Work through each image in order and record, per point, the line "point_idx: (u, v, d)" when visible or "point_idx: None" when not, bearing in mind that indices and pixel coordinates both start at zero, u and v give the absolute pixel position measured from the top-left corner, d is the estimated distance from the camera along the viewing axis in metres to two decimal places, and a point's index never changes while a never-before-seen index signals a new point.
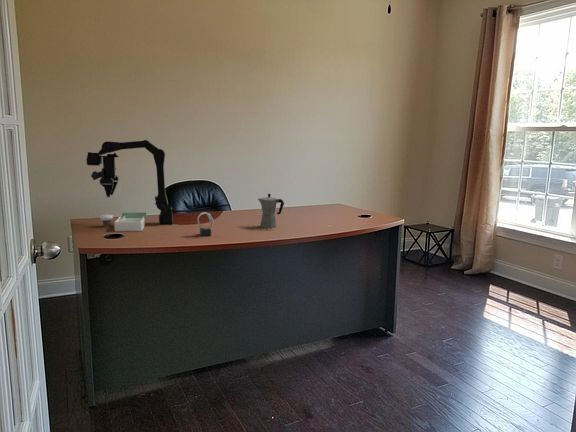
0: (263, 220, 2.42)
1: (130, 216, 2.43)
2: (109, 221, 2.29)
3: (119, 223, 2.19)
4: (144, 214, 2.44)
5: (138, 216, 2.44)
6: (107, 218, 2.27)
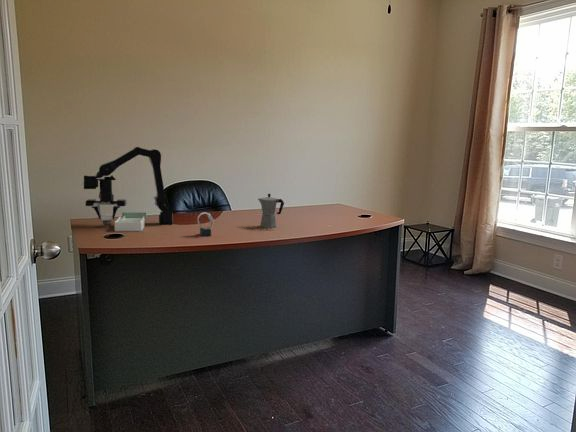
0: (263, 220, 2.42)
1: (130, 216, 2.43)
2: (109, 221, 2.29)
3: (119, 223, 2.19)
4: (144, 214, 2.44)
5: (138, 216, 2.44)
6: (107, 218, 2.27)
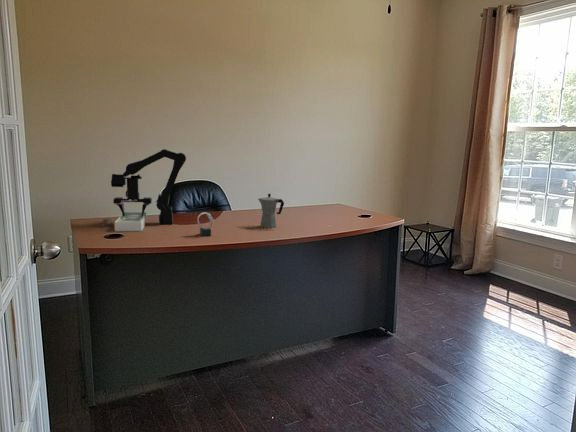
0: (263, 220, 2.42)
1: None
2: (109, 221, 2.29)
3: (119, 223, 2.19)
4: (144, 214, 2.44)
5: None
6: (134, 218, 2.37)
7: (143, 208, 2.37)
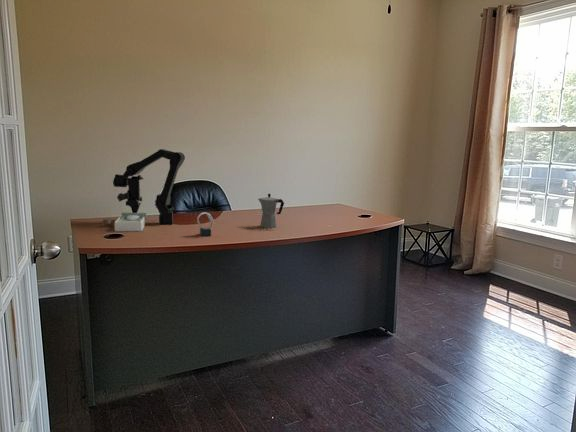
0: (263, 220, 2.42)
1: None
2: (109, 221, 2.29)
3: (119, 223, 2.19)
4: (144, 215, 2.43)
5: None
6: (135, 218, 2.36)
7: None
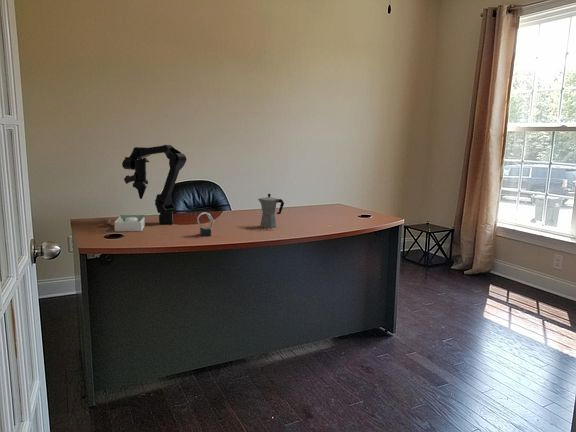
0: (263, 220, 2.42)
1: None
2: (109, 221, 2.29)
3: (119, 223, 2.19)
4: (142, 217, 2.37)
5: None
6: (135, 220, 2.30)
7: None
